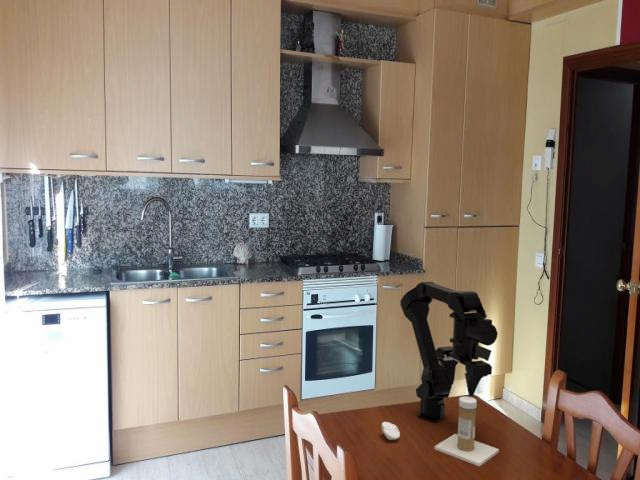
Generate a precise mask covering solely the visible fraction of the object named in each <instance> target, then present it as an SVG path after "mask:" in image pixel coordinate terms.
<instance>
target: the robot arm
mask: <svg viewBox="0 0 640 480" xmlns="http://www.w3.org/2000/svg"><path fill="white" fill-rule="evenodd" d="M433 300H436V301H438V302H441V303H442V304H443V303H444V304H446V305H447V307H448V309H450V310H451V311H453V312H450V314H449V317H450V318H451V319H453V332H452V334H453V335H452V337H450V338H449V342H450V343H451V344H452V346H451V345H449V346H440V347H437V349H436V345H435V343H434V339H433V336H432V332H431V329H430V325H429V320H428V316H429V313H430V304H431V303H432V302H433ZM399 304H400V307H401V309H402V311H403V312H402V313H403V316H404V317H405V318H406V319H407V320H408V322H410V323H411V325H412V330H413V333H414V336H415V340H416V345H417V348H418V351H419V355H420V359H421V363H422V366H423V369H422V373H421V376H420V379H421V384H419V386H417V388H416V389H415V394H416V397H417V398H419V399H420V408H419V409H420V410H419V411H420V412H419V413H417V415H416V416H417V417H419V418H422V419H424V420H427V421H430V422H433V423H437V422H439V421H441V420H442V419H444V418H446V416H447V415H446V414H445V413H446V412H445V411H446V410H445V409H446V404H445V399H448V398H449V396H450V393H451V391H452V388H453V385H454V382H455V378H456V368H457V365H458V363H459V364H462V365H463V366H464V367H465V368H464V369H465V373H464V377H465V383H466V387H467V392H468V395H469V396H468V397H472V396H473V397H474V395H475V392H476V390H477V388H478V385H479V384H480V381H481V380H482V379H483V378H484V377H488V376H490V375H492V372H493V367H492V365H491V364H490V363H488V362H489V360H490V358H491V357H490V356H491V354H492V350H491V349H489V348H486V347H484V346H487V347H488V346H489V347H490V346H492V345H493V344H494V343H495V342H496V341H497V338H498V334H499V333H498V330H497V328H496V326H495V325H493V320H492V319H490V318H487V317H488V315H487V312H486V310H485V308H484V306H483V304H482V302H481V298H480V297H479V294H478V293H477V292H476V291H474V290H456V289H452V288H449V287H446V286H443V285H440V284H437V283H435V282H433V281H421V282H419V283H417V284H416V286H414V288H412V289H410V290H409V291H407V292H406V293H405V294H404V295H403V296H402V298H401V299H400V303H399ZM480 344H482V345H484V346H481V345H480ZM479 359H481V360H479ZM485 361H486V362H485Z"/></svg>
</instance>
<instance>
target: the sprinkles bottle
mask: <svg viewBox="0 0 640 480" xmlns="http://www.w3.org/2000/svg"><path fill="white" fill-rule="evenodd" d="M477 401H478V400H477V399H476V398H475V397H472V396H467V395H466V396H460V397H459V398H458V408H459V409H458V422H457V423H458V424H457V425H458V426H457V435H458V444H457V446H458V448H459V449H461V450H465V451H471V450H473V449H474V441H475V437H476V434H475V433H476V409H477V406H478V404H477V403H478V402H477Z"/></svg>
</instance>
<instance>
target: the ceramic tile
mask: <svg viewBox="0 0 640 480" xmlns="http://www.w3.org/2000/svg"><path fill="white" fill-rule="evenodd" d="M457 444H458V433H454V434H453V435H451V436H448V438H445V439H444V440H442V441H440V442H439V443H438V444H436V445H434V450H436V451H438V452H441V453H442V454H446V455H449V456H451V457H453V458H456V459H458V460H461V461H464V462H467V463H469V464H472V465H474V466H477V467H479V468H480V467H481V466H482V465H484V464H486V462H488V461H489V460H490V459H492V458H493V457H494V456H496V455H497V454H498V453H499V452H500V449H499V448H496V447H494V446H490V445H488V444H486V443H482V442H479V441H478V440H477V441H476V440H474V449H473V450H471V451H465V450H461V449H459V448H458V446H457Z"/></svg>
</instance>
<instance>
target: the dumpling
mask: <svg viewBox="0 0 640 480" xmlns="http://www.w3.org/2000/svg"><path fill="white" fill-rule="evenodd" d="M381 430H382V433H383V434H384V435H385V437H386V439H388V440H390V441H395V440H397V439H399V438H400V436H401V432H400V430H399V428H398V426H397V425H396V424H393V423H391V422H388V421H383V422H382V423H381Z"/></svg>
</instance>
